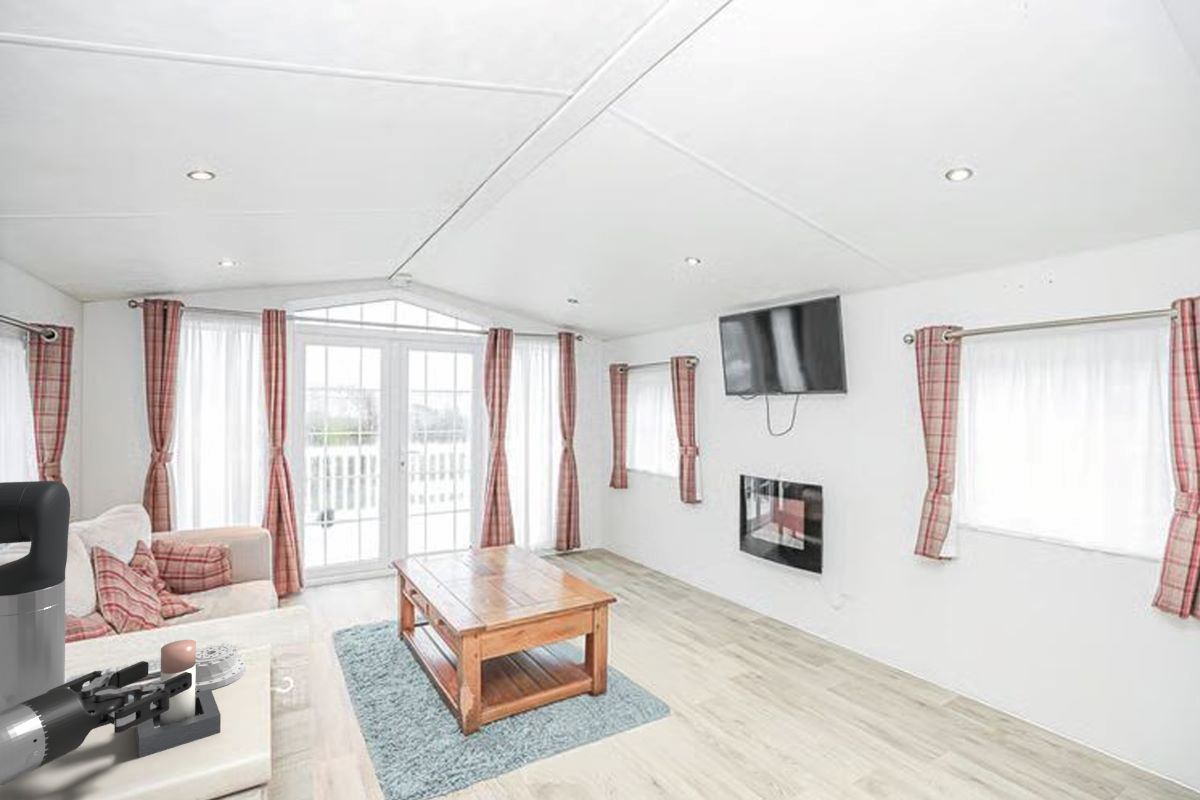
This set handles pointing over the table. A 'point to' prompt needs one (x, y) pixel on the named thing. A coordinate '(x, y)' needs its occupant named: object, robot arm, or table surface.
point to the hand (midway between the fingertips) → (167, 673)
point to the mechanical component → (217, 666)
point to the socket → (180, 727)
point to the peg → (174, 663)
